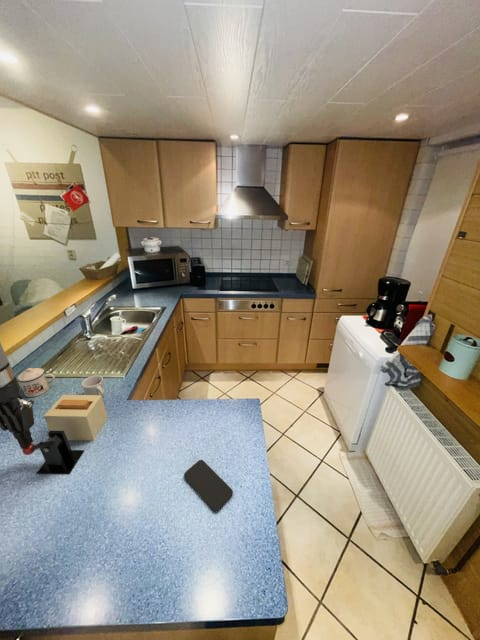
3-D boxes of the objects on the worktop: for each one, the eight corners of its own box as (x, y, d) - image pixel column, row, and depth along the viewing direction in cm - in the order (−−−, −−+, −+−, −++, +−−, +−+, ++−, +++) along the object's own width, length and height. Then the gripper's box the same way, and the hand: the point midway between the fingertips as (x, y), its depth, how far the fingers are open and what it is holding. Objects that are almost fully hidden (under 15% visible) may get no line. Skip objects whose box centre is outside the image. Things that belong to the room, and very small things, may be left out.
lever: (24, 458, 76) (17, 451, 75) (32, 449, 79) (25, 442, 78) (56, 448, 74) (49, 441, 73) (63, 439, 77) (56, 432, 76)
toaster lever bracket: (37, 475, 76) (23, 449, 71) (55, 452, 83) (44, 426, 78) (70, 476, 76) (59, 449, 71) (85, 452, 83) (76, 426, 78)
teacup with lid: (21, 400, 104) (11, 378, 99) (27, 387, 111) (18, 365, 107) (56, 392, 109) (48, 370, 104) (59, 380, 116) (52, 359, 111)
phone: (215, 512, 67) (182, 474, 76) (215, 514, 67) (182, 476, 76) (234, 491, 72) (201, 458, 81) (234, 493, 72) (201, 459, 81)
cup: (114, 397, 107) (110, 382, 104) (95, 408, 101) (91, 392, 98) (100, 387, 112) (96, 372, 109) (82, 397, 106) (77, 382, 103)
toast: (66, 428, 89) (57, 404, 85) (70, 422, 91) (62, 399, 87) (91, 428, 89) (84, 405, 85) (95, 423, 91) (88, 400, 87)
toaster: (54, 441, 87) (43, 415, 82) (71, 419, 96) (63, 394, 91) (94, 442, 87) (86, 416, 82) (108, 419, 96) (101, 395, 91)
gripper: (-43, 392, 62) (-6, 455, 72) (10, 392, 63) (40, 456, 73) (-15, 373, 69) (16, 434, 79) (32, 374, 69) (57, 434, 79)
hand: (27, 444), depth 76 cm, fingers closed
